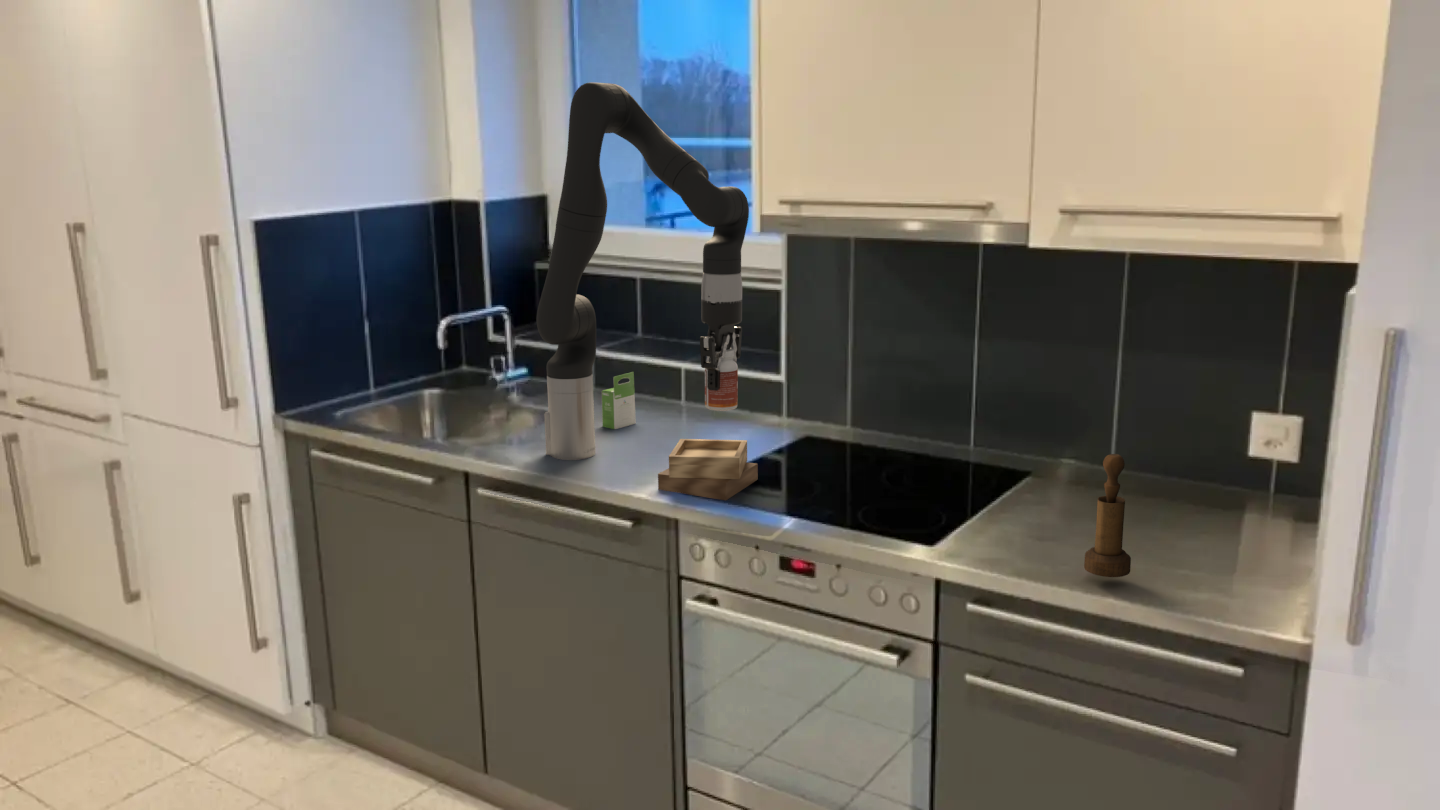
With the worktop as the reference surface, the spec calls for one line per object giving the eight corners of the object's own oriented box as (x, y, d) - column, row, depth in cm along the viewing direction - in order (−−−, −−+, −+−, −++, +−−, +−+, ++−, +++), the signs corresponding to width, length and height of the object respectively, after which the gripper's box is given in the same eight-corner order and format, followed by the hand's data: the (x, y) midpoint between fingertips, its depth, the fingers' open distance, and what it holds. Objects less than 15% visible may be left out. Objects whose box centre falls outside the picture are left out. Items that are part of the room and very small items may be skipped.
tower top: (669, 477, 220) (668, 456, 219) (680, 458, 232) (680, 438, 231) (739, 479, 218) (739, 458, 217) (747, 460, 231) (747, 440, 230)
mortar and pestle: (1082, 574, 179) (1089, 458, 175) (1085, 560, 184) (1092, 447, 180) (1129, 579, 176) (1137, 462, 172) (1131, 565, 182) (1138, 451, 178)
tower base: (658, 494, 223) (657, 473, 222) (692, 475, 235) (692, 455, 234) (725, 503, 217) (725, 482, 216) (757, 483, 229) (757, 463, 228)
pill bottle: (744, 408, 224) (744, 350, 221) (717, 413, 220) (717, 354, 218) (725, 402, 228) (725, 345, 226) (698, 406, 225) (698, 348, 222)
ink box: (623, 427, 272) (621, 369, 269) (636, 430, 269) (634, 371, 266) (602, 433, 267) (600, 374, 264) (615, 436, 264) (613, 376, 261)
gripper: (719, 291, 227) (718, 377, 231) (686, 300, 215) (686, 392, 218) (755, 293, 224) (754, 381, 228) (724, 303, 212) (723, 396, 215)
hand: (721, 386), depth 223 cm, fingers closed on pill bottle, 6 cm apart
